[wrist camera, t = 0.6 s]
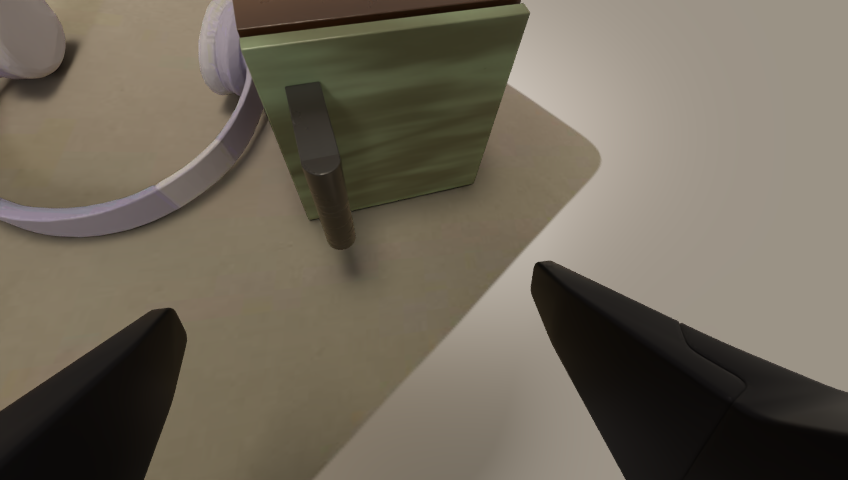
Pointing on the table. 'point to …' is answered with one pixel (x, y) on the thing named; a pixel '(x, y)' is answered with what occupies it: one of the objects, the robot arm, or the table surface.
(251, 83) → the headphones
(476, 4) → the cupboard
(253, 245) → the table surface
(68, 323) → the table surface
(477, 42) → the door
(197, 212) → the table surface
